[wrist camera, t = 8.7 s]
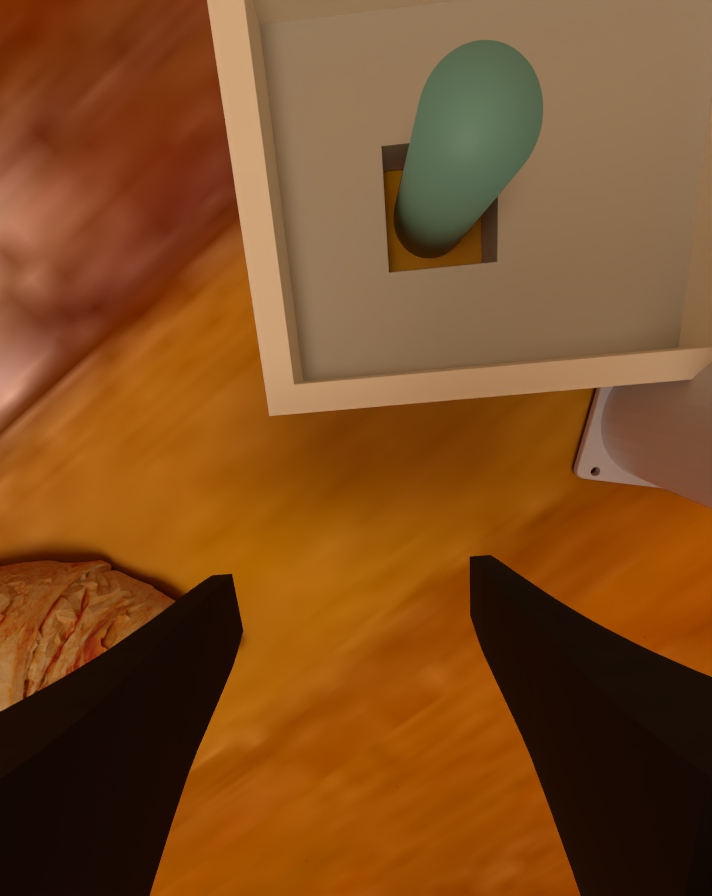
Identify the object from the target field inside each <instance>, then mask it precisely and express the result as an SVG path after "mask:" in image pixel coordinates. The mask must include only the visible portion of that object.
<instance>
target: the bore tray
mask: <svg viewBox="0 0 712 896" xmlns="http://www.w3.org/2000/svg"><path fill="white" fill-rule="evenodd" d="M207 3H208V9H209V16H210V23H211V29H212V36H213V43H214V49H215V56H216V63H217V69H218V76H219V83H220V89H221V96H222V103H223V109H224V116H225V123H226V129H227V136H228V143H229V149H230V156H231V163H232V170H233V176H234V183H235V190H236V196H237V203H238V210H239V216H240V223H241V230H242V236H243V243H244V250H245V256H246V263H247V270H248V276H249V283H250V290H251V296H252V303H253V310H254V316H255V323H256V330H257V336H258V343H259V350H260V356H261V363H262V370H263V376H264V383H265V390H266V396H267V403H268V410H269V416H275V415H287V414H298V413H310V412H322V411H333V410H345V409H356V408H368V407H379V406H391V405H402V404H414V403H425V402H437V401H448V400H460V399H472V398H483V397H495V396H506V395H518V394H529V393H541V392H552V391H564V390H575V389H587V388H598V387H610V386H622V385H633V384H645V383H656V382H668V381H679V380H691V379H693V378H694V377H695V376H696V375H697V374H698V373H699V372H700V371H701V370H703V369H704V368H705V367H706V366H708V365H709V364H710V363H711V362H712V0H207ZM477 40H494V41H499V42H502V43H505V44H507V45H509V46H511V47H513V48H515V49H516V50H517V51H519V52H520V53H521V54H522V55H523V56H524V57H525V58H526V59H527V60H528V62H529V63H530V64H531V66H532V67H533V69H534V71H535V73H536V75H537V78H538V80H539V83H540V87H541V91H542V97H543V120H542V126H541V131H540V134H539V137H538V140H537V143H536V145H535V147H534V150H533V152H532V153H531V155H530V157H529V158H528V160H527V161H526V163H525V164H524V165H523V167H522V168H521V169H520V170H519V171H518V172H517V174H516V175H515V176H514V177H513V178H512V180H511V181H510V182H509V183H508V184H507V186H506V187H505V188H504V189H503V190H502V192H501V193H500V194H499V195H498V196H497V198H496V199H495V200H494V201H493V202H492V204H491V205H490V206H489V207H488V208H487V209H486V211H485V212H484V213H483V214H482V264H472V265H462V266H451V267H441V268H431V269H421V270H411V271H401V272H390V273H389V265H388V249H387V232H386V215H385V198H384V181H383V171H390V170H400V169H404V165H405V161H406V156H407V152H408V148H409V143H410V139H411V135H412V130H413V126H414V122H415V117H416V113H417V108H418V104H419V100H420V96H421V93H422V90H423V88H424V85H425V83H426V81H427V79H428V77H429V76H430V74H431V72H432V71H433V69H434V68H435V67H436V66H437V64H438V63H439V62H440V61H441V60H442V59H443V58H444V57H445V56H446V55H447V54H448V53H450V52H451V51H453V50H454V49H456V48H458V47H459V46H461V45H463V44H466V43H469V42H472V41H477Z"/></svg>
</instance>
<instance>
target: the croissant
mask: <svg viewBox="0 0 712 896" xmlns="http://www.w3.org/2000/svg"><path fill="white" fill-rule="evenodd" d="M174 602H176V601H175V600H173V599H171V598H169V597H167V596H166V595H164V594H163V593H162V592H160V591H158V590H156V589H155V588H154V587H153V586H152V585H150V584H147V583H144V582H141V581H139V580H136V579H134V578H131V577H130V576H128V575H126V574H124V573H122V572H120V571H117V570H111V564H109V563H107V562H104V561H102V560H95V561H88V562H76V563H62V562H58V561H50V560H48V561H31V562H23V563H16V564H11V565H5V566H1V567H0V711H2V710H4V709H6V708H8V707H10V706H11V705H13V704H15V703H17V702H19V701H21V700H23V699H24V698H26V697H28V696H30V695H32V694H34V693H35V692H37V691H39V690H41V689H43V688H45V687H47V686H48V685H50V684H52V683H54V682H56V681H58V680H59V679H61V678H63V677H64V676H66V675H68V674H69V673H71V672H73V671H74V670H76V669H78V668H79V667H81V666H83V665H84V664H86V663H88V662H89V661H91V660H93V659H94V658H96V657H97V656H99V655H100V654H102V653H104V652H105V651H107V650H108V649H110V648H111V647H113V646H114V645H116V644H117V643H119V642H120V641H121V640H123V639H124V638H126V637H127V636H129V635H130V634H131V633H133V632H134V631H136V630H137V629H139V628H140V627H142V626H143V625H144V624H146V623H147V622H149V621H150V620H151V619H153V618H154V617H156V616H157V615H158V614H160V613H161V612H162V611H164V610H165V609H166V608H168V607H169V606H170V605H172V604H173V603H174Z"/></svg>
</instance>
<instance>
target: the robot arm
mask: <svg viewBox="0 0 712 896" xmlns="http://www.w3.org/2000/svg"><path fill="white" fill-rule="evenodd" d="M594 467H596V470H595V472H594V473H592V474H591V470H592V468H594ZM574 473H575V474H576V475H577V476H578V477H580V478H583V479H590V480H599V481H607V482H615V483H624V484H632V485H640V486H648V487H657V488H663V489H666V490H668V491H671V492H673V493H675V494H678V495H680V496H682V497H685V498H687V499H690V500H692V501H694V502H697V503H699V504H702V505H704V506H706V507H709V508H711V509H712V362H711V363H710V364H709V365H708V366H706V367H705V368H704V369H703V370H701V371H700V372H699V373H698V374H697V375H696V376H695V377H694V378H693V379H691V380H679V381H668V382H656V383H645V384H633V385H622V386H610V387H598V388H597V389H596V393H595V396H594V400H593V403H592V407H591V410H590V413H589V417H588V420H587V424H586V427H585V431H584V434H583V438H582V441H581V445H580V448H579V452H578V455H577V459H576V462H575V465H574ZM470 616H471V619H472V622H473V625H474V628H475V631H476V634H477V637H478V640H479V643H480V646H481V649H482V651H483V653H484V656H485V658H486V660H487V662H488V664H489V666H490V669H491V671H492V673H493V675H494V677H495V679H496V682H497V684H498V686H499V688H500V690H501V692H502V694H503V696H504V699H505V701H506V703H507V705H508V707H509V709H510V711H511V713H512V716H513V718H514V720H515V722H516V724H517V726H518V728H519V731H520V733H521V735H522V737H523V740H524V742H525V744H526V747H527V749H528V751H529V754H530V756H531V759H532V761H533V764H534V767H535V769H536V772H537V775H538V777H539V780H540V783H541V785H542V788H543V791H544V793H545V796H546V799H547V802H548V804H549V807H550V810H551V813H552V815H553V818H554V821H555V824H556V827H557V829H558V832H559V835H560V838H561V840H562V843H563V846H564V849H565V852H566V854H567V857H568V860H569V863H570V866H571V869H572V871H573V874H574V877H575V880H576V883H577V886H578V889H579V892H580V895H581V896H712V677H710V676H708V675H705V674H703V673H700V672H698V671H695V670H693V669H691V668H688V667H686V666H684V665H682V664H679V663H677V662H675V661H673V660H670V659H668V658H666V657H663V656H661V655H659V654H657V653H654V652H652V651H650V650H648V649H646V648H644V647H642V646H640V645H638V644H636V643H633V642H631V641H630V640H628V639H626V638H624V637H622V636H620V635H618V634H616V633H614V632H612V631H610V630H608V629H606V628H604V627H602V626H601V625H599V624H597V623H595V622H593V621H592V620H590V619H588V618H586V617H585V616H583V615H581V614H580V613H578V612H576V611H575V610H573V609H571V608H570V607H568V606H566V605H564V604H563V603H561V602H560V601H558V600H557V599H555V598H553V597H552V596H550V595H549V594H547V593H546V592H544V591H543V590H541V589H540V588H538V587H537V586H535V585H534V584H532V583H531V582H529V581H528V580H526V579H525V578H523V577H522V576H520V575H519V574H518V573H516V572H515V571H513V570H512V569H510V568H509V567H508V566H506V565H505V564H503V563H502V562H500V561H499V560H497V559H496V558H494V557H493V556H491V555H486V556H472V557H470ZM242 633H243V628H242V623H241V617H240V612H239V607H238V602H237V597H236V592H235V587H234V582H233V577H232V574H225V575H212V576H211V577H209V578H207V579H206V580H204V581H203V582H201V583H200V584H199V585H197V586H196V587H195V588H193V589H192V590H190V591H189V592H188V593H186V594H185V595H184V596H182V597H181V598H180V599H178V600H177V601H176V602H174V603H173V604H172V605H170V606H169V607H168V608H166V609H165V610H164V611H162V612H161V613H160V614H158V615H157V616H156V617H154V618H153V619H151V620H150V621H149V622H147V623H146V624H144V625H143V626H142V627H140V628H139V629H137V630H136V631H134V632H133V633H131V634H130V635H129V636H127V637H126V638H124V639H123V640H121V641H120V642H119V643H117V644H116V645H114V646H113V647H111V648H110V649H108V650H107V651H105V652H104V653H102V654H100V655H99V656H97V657H96V658H94V659H93V660H91V661H89V662H88V663H86V664H84V665H83V666H81V667H79V668H78V669H76V670H74V671H73V672H71V673H69V674H68V675H66V676H64V677H63V678H61V679H59V680H58V681H56V682H54V683H52V684H50V685H48V686H47V687H45V688H43V689H41V690H39V691H37V692H35V693H34V694H32V695H30V696H28V697H26V698H24V699H23V700H21V701H19V702H17V703H15V704H13V705H11V706H10V707H8V708H6V709H4V710H2V711H0V896H150V892H151V889H152V885H153V882H154V879H155V876H156V872H157V869H158V866H159V863H160V860H161V856H162V853H163V850H164V847H165V844H166V840H167V837H168V834H169V831H170V827H171V824H172V821H173V818H174V815H175V812H176V809H177V806H178V803H179V800H180V797H181V794H182V791H183V788H184V785H185V782H186V779H187V776H188V773H189V771H190V768H191V766H192V763H193V760H194V758H195V755H196V753H197V750H198V748H199V745H200V743H201V741H202V738H203V736H204V734H205V731H206V729H207V727H208V724H209V722H210V720H211V717H212V715H213V713H214V710H215V708H216V706H217V703H218V701H219V699H220V696H221V694H222V691H223V689H224V687H225V684H226V682H227V679H228V677H229V675H230V672H231V670H232V667H233V664H234V661H235V658H236V655H237V651H238V648H239V644H240V640H241V637H242Z"/></svg>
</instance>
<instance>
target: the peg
mask: <svg viewBox="0 0 712 896" xmlns="http://www.w3.org/2000/svg"><path fill="white" fill-rule="evenodd" d="M542 120H543V97H542V91H541V87H540V83H539V80H538V78H537V75H536V73H535V71H534V69H533V67H532V66H531V64H530V63H529V62H528V60H527V59H526V58H525V57H524V56H523V55H522V54H521V53H520V52H519V51H517V50H516V49H515V48H513V47H511V46H509V45H507V44H505V43H502V42H499V41H494V40H477V41H472V42H469V43H466V44H463V45H461V46H459V47H458V48H456V49H454V50H453V51H451V52H450V53H448V54H447V55H446V56H445V57H444V58H443V59H442V60H441V61H440V62H439V63H438V64H437V66H436V67H435V68H434V69H433V71H432V72H431V74H430V76H429V77H428V79H427V81H426V83H425V85H424V88H423V90H422V93H421V96H420V100H419V104H418V108H417V113H416V117H415V122H414V126H413V130H412V135H411V139H410V143H409V148H408V152H407V156H406V161H405V165H404V169H403V174H402V178H401V182H400V187H399V191H398V196H397V200H396V204H395V209H394V228H395V232H396V234H397V237H398V239H399V241H400V242H401V244H402V245H403V246H404V247H405V248H406V249H407V250H408V251H409V252H411V253H412V254H414V255H416V256H419V257H422V258H436V257H439V256H442V255H444V254H446V253H448V252H449V251H451V250H452V249H453V248H454V247H455V246H456V245H457V244H458V243H459V242H460V240H461V239H462V238H463V237H464V236H465V235H466V233H467V232H468V231H469V230H470V229H471V227H472V226H473V225H474V224H475V223H476V221H477V220H478V219H479V218H480V217H481V215H482V214H483V213H484V212H485V211H486V209H487V208H488V207H489V206H490V205H491V204H492V202H493V201H494V200H495V199H496V198H497V196H498V195H499V194H500V193H501V192H502V190H503V189H504V188H505V187H506V186H507V184H508V183H509V182H510V181H511V180H512V178H513V177H514V176H515V175H516V174H517V172H518V171H519V170H520V169H521V168H522V167H523V165H524V164H525V163H526V161H527V160H528V158H529V157H530V155H531V153H532V152H533V150H534V147H535V145H536V143H537V140H538V137H539V134H540V131H541V126H542Z"/></svg>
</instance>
